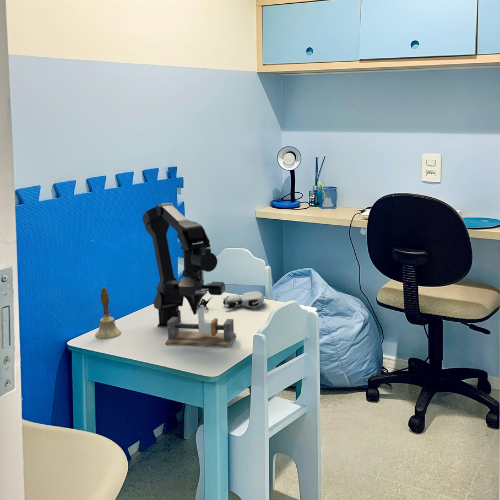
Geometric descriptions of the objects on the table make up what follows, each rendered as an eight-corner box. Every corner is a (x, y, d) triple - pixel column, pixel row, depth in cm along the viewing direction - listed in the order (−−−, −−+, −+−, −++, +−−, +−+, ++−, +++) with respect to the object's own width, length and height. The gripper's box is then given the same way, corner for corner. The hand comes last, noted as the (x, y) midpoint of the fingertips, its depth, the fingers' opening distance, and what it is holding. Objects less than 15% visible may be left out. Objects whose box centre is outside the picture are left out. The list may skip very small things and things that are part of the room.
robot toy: (224, 315, 231) (266, 309, 232) (223, 302, 230) (264, 297, 231) (223, 305, 243) (262, 300, 244) (222, 293, 242) (261, 288, 243)
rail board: (165, 344, 200) (164, 324, 199) (175, 333, 210) (174, 314, 208) (228, 347, 196) (227, 326, 195) (235, 336, 206) (235, 316, 204)
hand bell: (113, 339, 206) (109, 291, 203) (90, 338, 209) (86, 290, 205) (125, 331, 214) (122, 284, 210) (103, 329, 216) (99, 283, 213)
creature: (204, 317, 229) (216, 307, 235) (201, 304, 227) (214, 294, 233) (186, 314, 234) (199, 304, 240) (183, 301, 232) (196, 291, 238)
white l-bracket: (198, 333, 201) (197, 308, 199) (201, 329, 204) (200, 305, 202) (211, 334, 200) (210, 308, 198) (214, 330, 203) (213, 305, 202)
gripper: (155, 270, 192) (157, 321, 196) (216, 272, 189) (217, 323, 192) (167, 262, 203) (169, 310, 206) (225, 263, 199) (226, 312, 203)
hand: (195, 314), depth 202 cm, fingers closed
